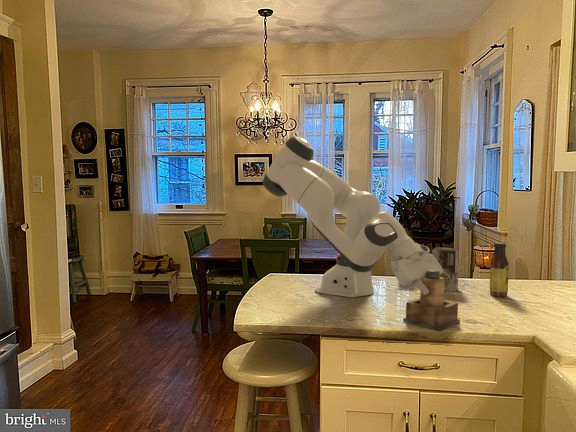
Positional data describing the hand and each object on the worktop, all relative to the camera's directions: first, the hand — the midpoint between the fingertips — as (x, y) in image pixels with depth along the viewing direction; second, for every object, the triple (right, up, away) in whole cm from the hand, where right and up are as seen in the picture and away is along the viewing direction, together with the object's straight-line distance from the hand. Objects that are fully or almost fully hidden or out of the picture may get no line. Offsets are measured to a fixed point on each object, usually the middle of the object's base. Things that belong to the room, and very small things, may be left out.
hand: (433, 291), depth 135 cm
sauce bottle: (+35, -7, +33) cm, 49 cm away
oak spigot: (0, -7, +1) cm, 7 cm away
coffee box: (+18, -6, +43) cm, 47 cm away
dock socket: (0, -10, +1) cm, 10 cm away
